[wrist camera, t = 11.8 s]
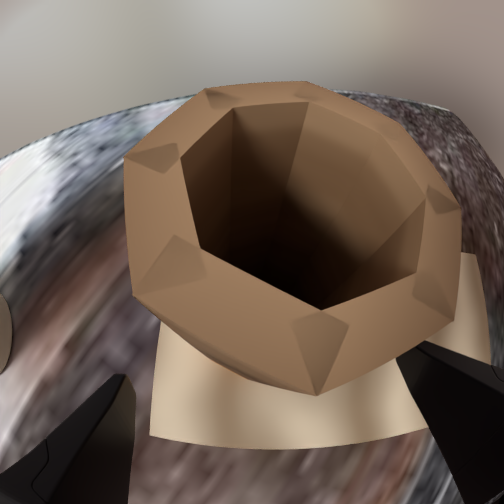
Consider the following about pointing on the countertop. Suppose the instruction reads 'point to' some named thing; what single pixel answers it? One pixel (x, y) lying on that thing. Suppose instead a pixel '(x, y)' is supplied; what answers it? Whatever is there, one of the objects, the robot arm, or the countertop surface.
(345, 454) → the countertop surface
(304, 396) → the pin board
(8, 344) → the travel mug
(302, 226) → the sleeve
